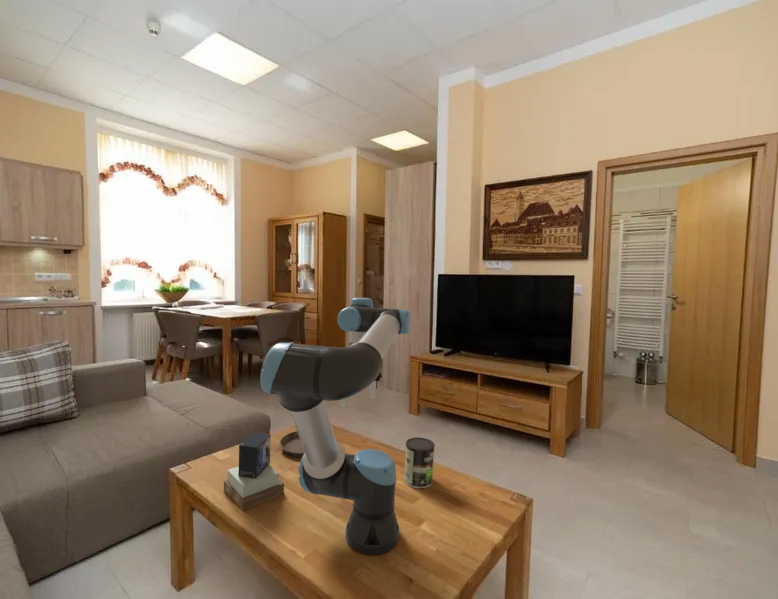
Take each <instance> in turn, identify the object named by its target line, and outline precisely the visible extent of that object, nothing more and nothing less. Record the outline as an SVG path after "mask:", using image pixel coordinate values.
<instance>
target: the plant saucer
mask: <svg viewBox="0 0 778 599" xmlns="http://www.w3.org/2000/svg"><path fill="white" fill-rule="evenodd" d="M279 445H280V447H281V449H282V450H283V451H284V452H285V453H287V454H289V455H291V456H293V457H297V458H298V457H299V458H302V457H303V455H304V454H305V452H304V449H303V446H302V443H301V440H300V438H299V435H298V432H297V430H295V431H292V432H289V433H287V434H286V435H284V436H282V438H281V439H280V442H279Z"/></svg>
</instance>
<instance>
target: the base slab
mask: <svg viewBox="0 0 778 599" xmlns="http://www.w3.org/2000/svg"><path fill="white" fill-rule="evenodd" d="M224 491H225V492H226V493H227V494H228V495H229V496H230V497H231V498H232V499H233V500H234V501H235V502H236V503H237V504H238V505H239V506H240V507H241V508H242V509H243V510H244V511H246V510H249V509H250V508H253V507H255V506H257V505H260V504H262V503H264V502H267V501H269V500H272V499H273V498H275V497H278V496H280V495H282V494H284V493H285V483H284V482H283V481H282V480H281V479H279V482H278V485H276V486H273V487H271V488H268V489H265V490H263V491H260V492H258V493H255V494H252V495H250V496H247V497H244V498H242V497H241V496H240V495H239V494H238V493H237V491H236V490H235V489H234V488H233V487H232V486H231V485H230V484H229V483H228V482H227V479H225V480H223V492H224ZM225 492H224V493H225ZM226 493H225V494H226ZM227 494H226V495H227ZM228 495H227V496H228ZM229 496H228V497H229ZM230 497H229V498H230ZM231 498H230V499H231ZM232 499H231V500H232ZM233 500H232V501H233ZM234 501H233V502H234ZM235 502H234V503H235ZM236 503H235V504H236ZM237 504H236V505H237ZM238 505H237V506H238ZM239 506H238V507H239ZM240 507H239V508H240ZM241 508H240V509H241ZM242 509H241V510H242ZM245 509H246V510H245ZM243 510H242V511H243Z"/></svg>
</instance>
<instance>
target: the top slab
mask: <svg viewBox="0 0 778 599" xmlns="http://www.w3.org/2000/svg"><path fill="white" fill-rule="evenodd" d="M238 474H239V465H238V466H235V467H231V468H229V469H227V479H226V480H227V482H228V483H229V484H230V485H231V486H232V487H233V488H234V489H235V490H236V491H237V493H238V494H239V495H240V496H241V497H242V498H244V497H247V496H250V495H252V494H255V493H258V492H260V491H263V490H265V489H268V488H271V487H273V486H276V485H278V482H279V480H280V478H279V474H280V472H278V471H277V470H276V469H275V468H274V467H272V466H271V465H270V463H269V464H268V465H267V467H266V468H265V469H264V470H263V471H262V472H261V473H260V474H259V475H258V476H257V477H256V478H250V477H242V476H238Z"/></svg>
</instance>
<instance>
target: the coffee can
mask: <svg viewBox="0 0 778 599" xmlns="http://www.w3.org/2000/svg"><path fill="white" fill-rule="evenodd" d="M435 448H436V447H435V442H434V441H433V440H431V439H429V438H424V437H411V438H408V439H407V440H406V441H405V462H404V476H403V477H404V478H403V479H404V480H403V481H404V483H405V484H406V486H408V487H410V488H413V489H417V488H418V489H419V490H421V489H420V488H424V489H427V488H426V487H428V488H430V487H431V486H432V485H433V473H434V456H435ZM431 484H432V485H431ZM429 486H430V487H429ZM418 489H417V490H418Z"/></svg>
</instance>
